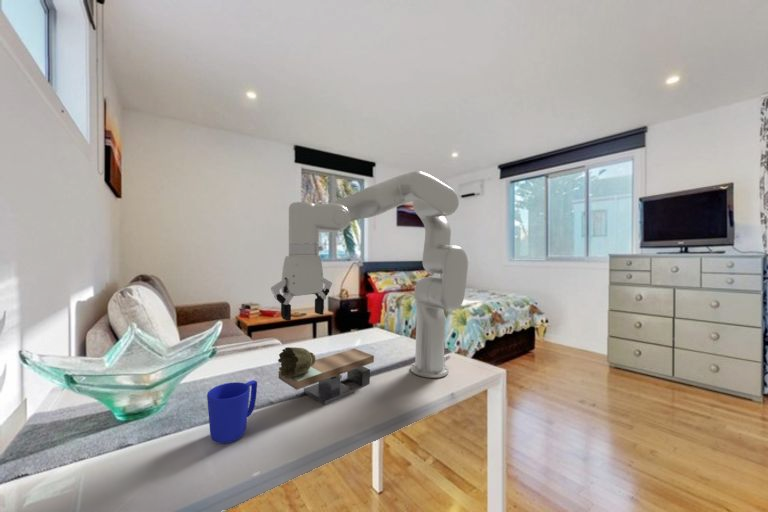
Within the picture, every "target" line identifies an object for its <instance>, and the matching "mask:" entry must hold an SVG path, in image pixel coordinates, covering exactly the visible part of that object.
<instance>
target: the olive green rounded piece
mask: <svg viewBox="0 0 768 512" xmlns="http://www.w3.org/2000/svg"><path fill="white" fill-rule="evenodd" d="M278 356H279V357H278V359H277V362H278V363H280V367H279V368H278V371H280V370H281V375H282V376H284V378H287V379H289V378H292V377H295V376H298V375H301V374H303V373H305V372H306V371H308V370H309V368H310V367H311V366H313V365H314V363H315V360H316V355H315V353H313V352H311V351H309V350H307V349H306V348H303V347H292V346H291V347H289V346H288V347H284V349H282V350H281V352H280V353H279V354H278Z"/></svg>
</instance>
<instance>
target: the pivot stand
mask: <svg viewBox="0 0 768 512" xmlns="http://www.w3.org/2000/svg"><path fill="white" fill-rule="evenodd" d="M346 373H347V374H346V376H347V377H346V378H347V379H346V380H348V381H350V382H352V383H354V384H356V385H359V387H360V386H361V387H364V386H367V385H369V384H370V382H371V381H370V380H371V369H369V368H367V367H365V366H362V367H359V368H356V369H353V370H351V371H348V372H346ZM303 393H305V394H307V395H308V396H309V397H311V398H312V399H315V400H316V401H317V402H319V403H321V404H322V405H329V404H331V403H333V402H336V401H338V400H340V399H343V398H345V397H348V396H350V395H353V394H355V389H354V388H352V387H350V386H349V385H346V384H344V383H343V382H341V379H339V378H337V377H335V376H334V377H331V378H328V379H326V380H323V381H320V382H317V383H315V384H312V385H309V386H306V387H303Z"/></svg>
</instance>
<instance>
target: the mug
mask: <svg viewBox="0 0 768 512" xmlns="http://www.w3.org/2000/svg"><path fill="white" fill-rule="evenodd" d="M250 387H251V388H250ZM250 390H251V391H250ZM257 391H258V380H255V379H253V380H250V381H247V382H238V381H237V382H227V383H223V384H219V385H217V386H215V387H213V388H211V389H210V390H209V391H207V394H206V399H207V408H208V410H207V411H208V423H209V435H210V438H211V440H212V441H213V442H214V443H217V444H229V443H232V442H234V441H235V442H236V441H237V440H239V439H240V438H241V437H242V436H243V435H244V434H245V432H246V429H247V424H248V421H247V420H248V418H249V416H251V415H252V413H253V412H254V409H255V407H256V406H255V405H256V402H257V401H256V400H257Z"/></svg>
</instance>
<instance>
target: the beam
mask: <svg viewBox="0 0 768 512" xmlns="http://www.w3.org/2000/svg"><path fill="white" fill-rule="evenodd" d="M374 361H375V355H373V354H371V353H368V352H365V351H362V350H359V349H357V348H351V349H348V350H345V351H341V352H338V353H335V354H331V355H328V356H327V355H326V356H324V357H321V358H318V359H315V363H314V365H313V366H311V367H310V368H309V370H308V371H306V372H305V373H303V374H301V375H298V376H295V377H292V378H289V379H287V378H284V376H282V375H281V370H278V379H279V380H280V381H282V382H283V383H285V384H287V385H288V386H289V387H291V388H293V389H295V391H297V390H300V389H304V388H307V387H310V386H313V385H315V384H318V383H319V382H320V381H323V380H326V379H328V378H331V377H334V376H335V377H337V378H339V379H340V380H341V379H342V377H343V375H342V374H345V373H347V372H348V371H351V370H353V369H356V368H359V367H362V366H363V367H365V366H367V365H370V364H373V363H374Z"/></svg>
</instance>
